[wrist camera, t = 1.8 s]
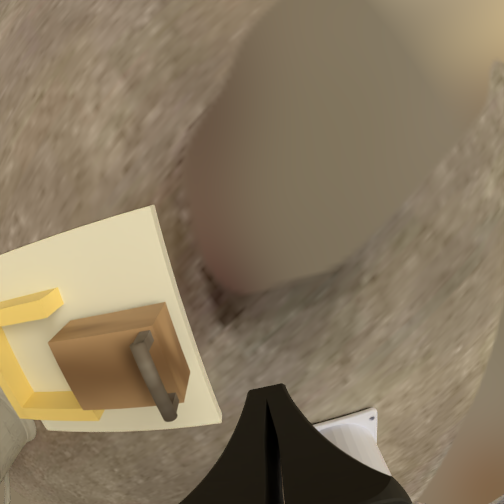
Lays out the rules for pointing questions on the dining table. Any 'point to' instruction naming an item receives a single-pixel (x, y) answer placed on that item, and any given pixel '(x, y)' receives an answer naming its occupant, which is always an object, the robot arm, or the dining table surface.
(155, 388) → the wooden block with handle
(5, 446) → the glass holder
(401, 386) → the dining table surface
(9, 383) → the dock
